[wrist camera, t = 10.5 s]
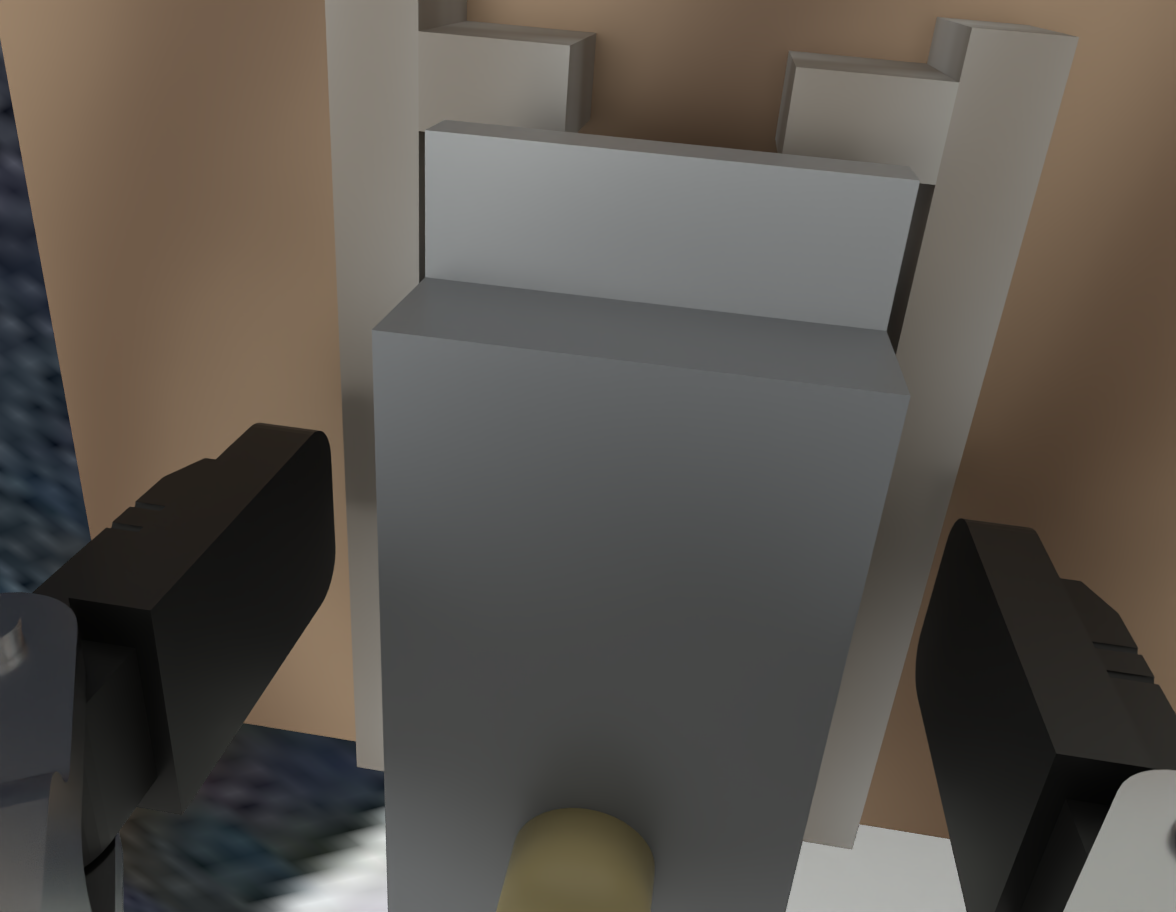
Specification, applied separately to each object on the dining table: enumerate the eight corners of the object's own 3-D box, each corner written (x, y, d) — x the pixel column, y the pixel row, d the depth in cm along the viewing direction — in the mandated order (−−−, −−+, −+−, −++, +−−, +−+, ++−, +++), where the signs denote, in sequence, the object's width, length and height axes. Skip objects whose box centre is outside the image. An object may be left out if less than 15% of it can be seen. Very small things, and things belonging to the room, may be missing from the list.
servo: (860, 105, 12) (984, 263, 6) (750, 690, 16) (750, 1154, 10) (532, 72, 12) (312, 190, 6) (506, 653, 16) (358, 1078, 10)
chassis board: (1519, -85, 11) (1782, -99, 8) (1118, 815, 18) (1190, 981, 15) (21, -197, 13) (-187, -242, 10) (155, 661, 19) (53, 783, 16)
